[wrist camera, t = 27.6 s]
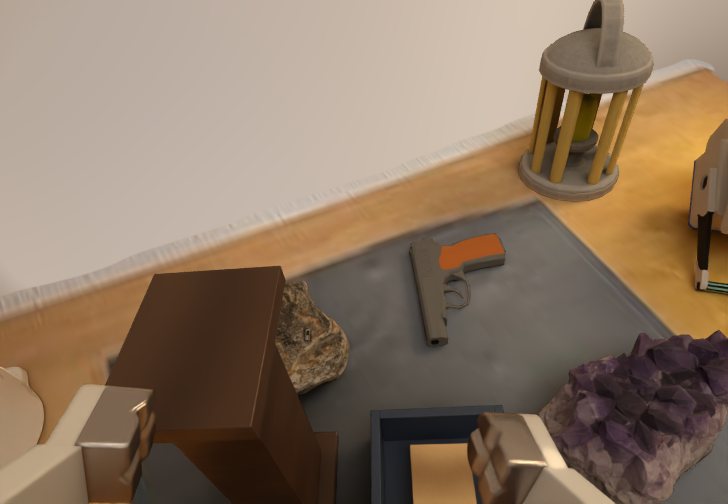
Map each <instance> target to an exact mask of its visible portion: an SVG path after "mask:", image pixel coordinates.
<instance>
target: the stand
mask: <svg viewBox="0 0 728 504" xmlns="http://www.w3.org/2000/svg"><path fill="white" fill-rule="evenodd" d="M285 281H286V280H285V277H284V274H283V272H282V269H281V266H269V267H254V268H239V269H224V270H209V271H194V272H179V273H164V274H154V276H153V278H152V281H151V283H150V285H149V287H148V290H147V292H146V294H145V296H144V299H143V301H142V303H141V305H140V308H139V310H138V312H137V315H136V317H135V319H134V321H133V324H132V326H131V328H130V330H129V333H128V335H127V337H126V339H125V342H124V344H123V346H122V348H121V351H120V353H119V355H118V357H117V360H116V362H115V364H114V366H113V369H112V371H111V373H110V375H109V378H108V380H107V382H106V384H105V386H119V387H130V388H141V389H152V390H155V393H156V403H155V405H154V408H153V410H152V411H153V412H154V413H155V414H156V430H155V436H154V440H153V443H174V444H175V445H176V446H177V447H178V448H179V449H180V450H181V451H182V452H183V453H184V454H185V456H186V457H187V458H188V459H189V460H190V461H191V462H192V463H193V464H194V465H195V466H196V467H197V468H198V469H199V470H200V471H201V472H202V473H203V474H204V475H205V476H206V477H207V478H208V479H209V480H210V481H211V482H212V483H213V484H214V485H215V486H216V487H217V488H218V489H219V490H220V491H221V492H222V493H223V494H224V495H225V496H226V497H227V498H228V499H229V500H230V501H231V502H232V503H233V504H336V484H337V461H338V439H339V437H338V434H337V432H314V433H313V430H312V428H311V426H310V423H309V421H308V419H307V416H306V414H305V412H304V409H303V407H302V405H301V402H300V400H299V398H298V395H297V393H296V391H295V388H294V386H293V384H292V381H291V379H290V377H289V374H288V372H287V369H286V367H285V365H284V362H283V360H282V358H281V355H280V353H279V351H278V348H277V346H276V344H275V340H276V334H277V328H278V323H279V317H280V311H281V305H282V299H283V293H284V287H285Z"/></svg>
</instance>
